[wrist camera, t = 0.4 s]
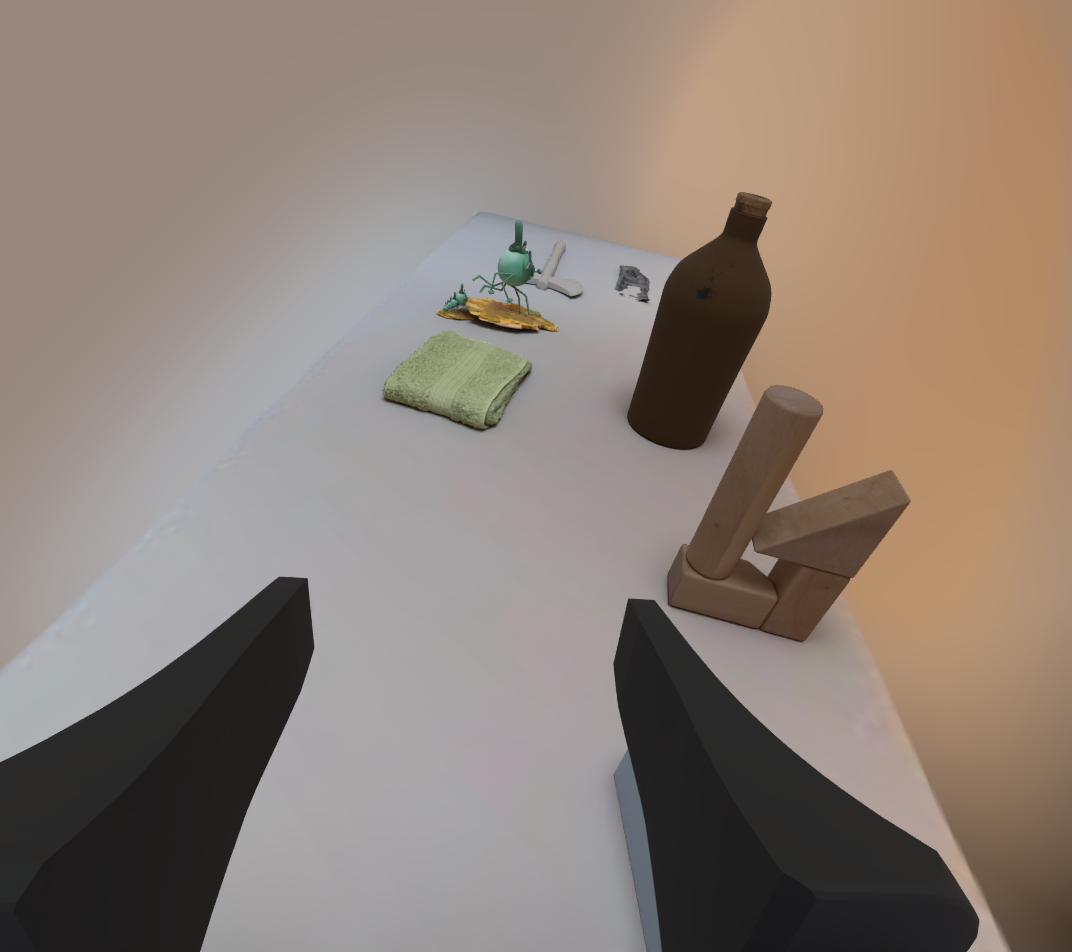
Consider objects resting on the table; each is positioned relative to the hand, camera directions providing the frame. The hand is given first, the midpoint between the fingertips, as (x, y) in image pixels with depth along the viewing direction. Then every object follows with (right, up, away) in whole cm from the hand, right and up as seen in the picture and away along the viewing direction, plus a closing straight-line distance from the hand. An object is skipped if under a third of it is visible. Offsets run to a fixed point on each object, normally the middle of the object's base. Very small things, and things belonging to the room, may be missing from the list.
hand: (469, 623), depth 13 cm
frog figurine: (-4, +26, +70) cm, 75 cm away
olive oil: (+17, +9, +54) cm, 57 cm away
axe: (+4, +42, +96) cm, 104 cm away
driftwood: (+20, +40, +98) cm, 108 cm away
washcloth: (-7, +14, +53) cm, 55 cm away
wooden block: (+17, -7, +32) cm, 37 cm away
